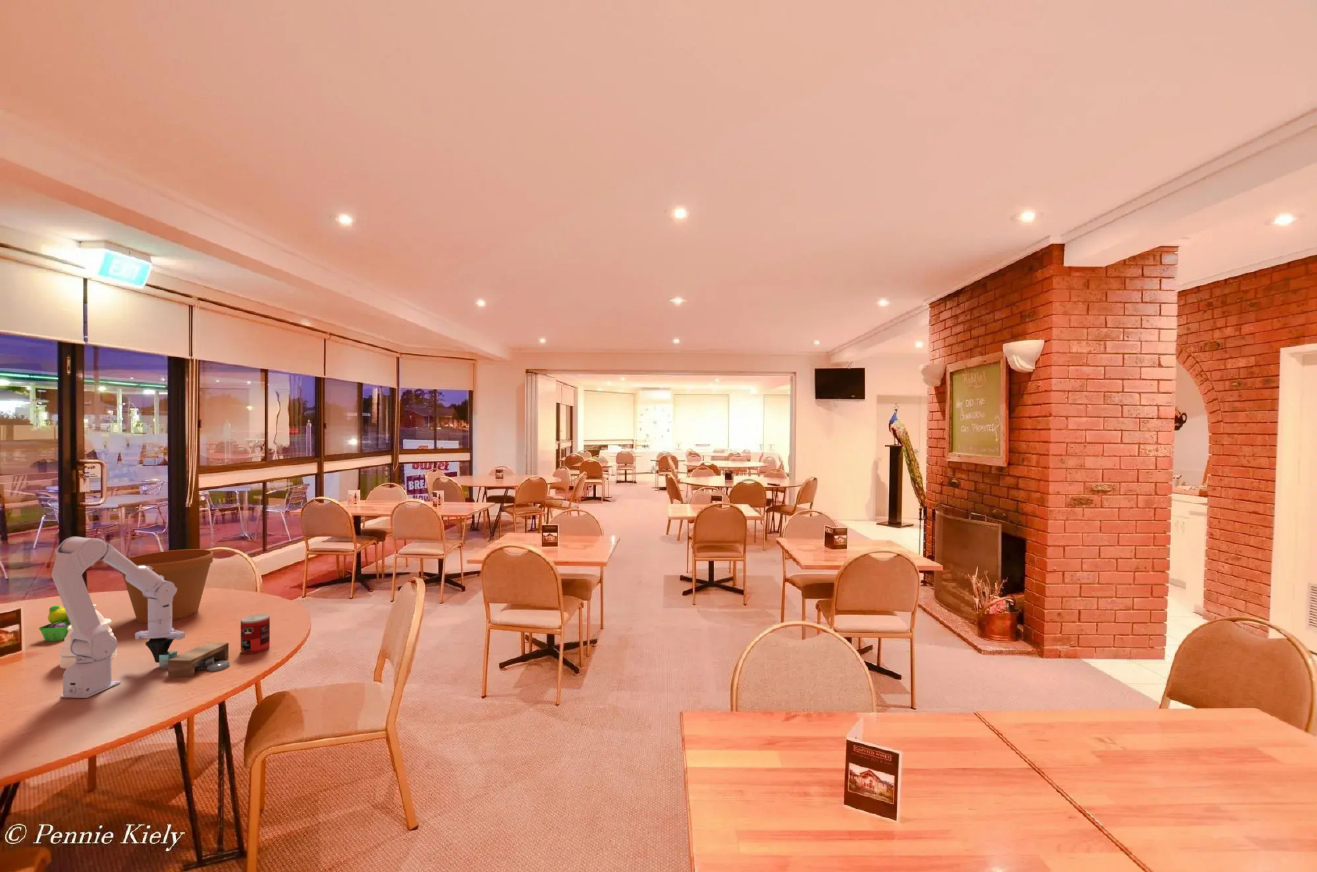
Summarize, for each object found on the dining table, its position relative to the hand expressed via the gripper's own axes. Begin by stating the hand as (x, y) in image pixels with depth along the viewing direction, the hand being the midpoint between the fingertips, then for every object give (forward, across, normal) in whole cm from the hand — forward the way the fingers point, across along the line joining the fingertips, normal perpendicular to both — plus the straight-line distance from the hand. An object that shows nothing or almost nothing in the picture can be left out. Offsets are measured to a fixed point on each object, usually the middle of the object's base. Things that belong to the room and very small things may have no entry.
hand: (160, 661), depth 175 cm
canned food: (+2, -20, -14) cm, 24 cm away
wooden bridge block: (+1, -13, 0) cm, 13 cm away
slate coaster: (+2, -19, 0) cm, 19 cm away
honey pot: (+2, +27, -3) cm, 27 cm away
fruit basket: (+2, +58, -22) cm, 62 cm away
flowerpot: (+2, +42, -46) cm, 62 cm away
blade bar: (+1, -9, 0) cm, 9 cm away
